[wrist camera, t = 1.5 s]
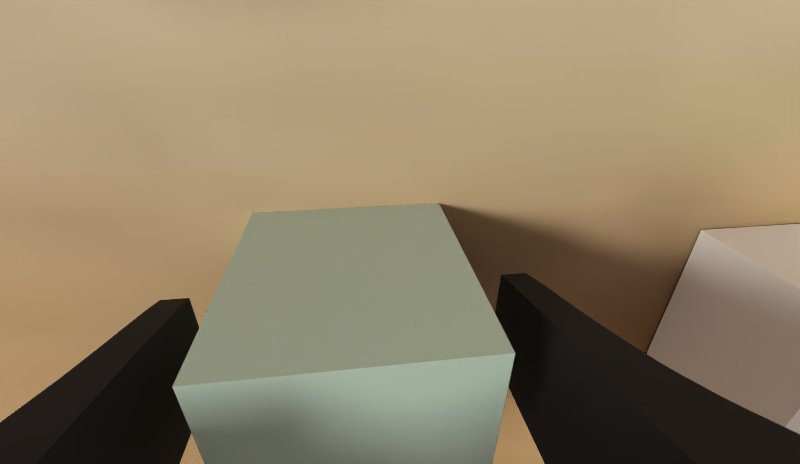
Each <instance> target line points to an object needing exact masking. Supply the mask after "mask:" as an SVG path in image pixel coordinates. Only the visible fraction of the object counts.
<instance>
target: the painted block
mask: <svg viewBox="0 0 800 464" xmlns="http://www.w3.org/2000/svg"><path fill="white" fill-rule="evenodd" d="M647 355H649V356H650V357H652V358H654V359H655V360H657V361H658V362H660V363H662V364H664V365H665V366H667V367H669V368H671V369H672V370H674V371H676V372H678V373H679V374H681V375H683V376H685V377H687V378H689V379H690V380H692V381H694V382H696V383H698V384H700V385H701V386H703V387H705V388H707V389H709V390H711V391H712V392H714V393H716V394H718V395H720V396H722V397H724V398H726V399H728V400H730V401H732V402H734V403H736V404H738V405H740V406H742V407H744V408H746V409H748V410H750V411H752V412H754V413H756V414H758V415H760V416H763V417H765V418H767V419H769V420H771V421H773V422H775V423H777V424H779V425H781V426H783V427H786V428H788V429H790V430H792V431H794V432H796V433H798V434H800V224H786V225H770V226H755V227H739V228H724V229H708V230H701V232H700V234H699V236H698V238H697V241H696V243H695V245H694V247H693V250H692V252H691V254H690V256H689V259H688V261H687V263H686V265H685V268H684V270H683V272H682V275H681V277H680V279H679V281H678V284H677V286H676V288H675V290H674V293H673V295H672V297H671V299H670V302H669V304H668V306H667V308H666V311H665V313H664V315H663V317H662V320H661V322H660V324H659V326H658V329H657V331H656V333H655V335H654V338H653V340H652V342H651V345H650V347H649V349H648V351H647Z"/></svg>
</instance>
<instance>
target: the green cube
mask: <svg viewBox="0 0 800 464" xmlns="http://www.w3.org/2000/svg"><path fill="white" fill-rule="evenodd" d="M514 357H515V351H514V350H513V348H512V346H511V344H510V342H509V340H508V338H507V336H506V334H505V332H504V330H503V328H502V326H501V324H500V322H499V320H498V318H497V316H496V314H495V312H494V310H493V308H492V306H491V304H490V302H489V301H488V299H487V297H486V295H485V293H484V291H483V289H482V287H481V285H480V283H479V281H478V279H477V277H476V275H475V273H474V271H473V269H472V267H471V265H470V263H469V261H468V259H467V257H466V255H465V253H464V252H463V250H462V248H461V246H460V244H459V242H458V240H457V238H456V236H455V234H454V232H453V230H452V228H451V226H450V224H449V222H448V220H447V218H446V216H445V214H444V212H443V210H442V208H441V206H440V204H439V203H434V204H415V205H396V206H376V207H357V208H337V209H318V210H299V211H279V212H260V213H252V215H251V217H250V219H249V221H248V224H247V226H246V228H245V230H244V232H243V234H242V237H241V239H240V241H239V243H238V245H237V247H236V250H235V252H234V254H233V256H232V258H231V260H230V263H229V265H228V267H227V269H226V271H225V273H224V276H223V278H222V280H221V282H220V284H219V286H218V289H217V291H216V293H215V295H214V297H213V299H212V302H211V304H210V306H209V308H208V310H207V312H206V315H205V317H204V319H203V321H202V323H201V325H200V328H199V330H198V332H197V334H196V336H195V339H194V341H193V343H192V345H191V347H190V349H189V352H188V354H187V356H186V358H185V360H184V362H183V365H182V367H181V369H180V371H179V373H178V375H177V378H176V380H175V382H174V384H173V386H172V388H173V390H174V392H175V395H176V397H177V399H178V402H179V404H180V407H181V409H182V411H183V414H184V416H185V418H186V421H187V423H188V425H189V428H190V430H191V433H192V435H193V437H194V440H195V442H196V444H197V447H198V449H199V452H200V454H201V456H202V459H203V461H204V463H205V464H492V462H493V457H494V452H495V448H496V443H497V438H498V433H499V429H500V424H501V419H502V414H503V409H504V405H505V400H506V395H507V390H508V386H509V381H510V376H511V371H512V367H513V362H514Z"/></svg>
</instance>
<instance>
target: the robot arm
mask: <svg viewBox="0 0 800 464" xmlns="http://www.w3.org/2000/svg"><path fill="white" fill-rule="evenodd" d="M495 314H496V316H497V318H498V320H499V322H500V324H501V326H502V328H503V330H504V332H505V334H506V336H507V338H508V340H509V342H510V344H511V346H512V348H513V350H514V351H515V357H514V362H513V367H512V371H511V376H510V381H509V389H510V391H511V393H512V395H513V397H514V399H515V402H516V404H517V406H518V408H519V410H520V412H521V414H522V416H523V418H524V421H525V423H526V425H527V427H528V429H529V431H530V433H531V435H532V437H533V440H534V442H535V444H536V446H537V448H538V450H539V452H540V454H541V456H542V459H543V461H544V463H545V464H800V434H798V433H796V432H794V431H792V430H790V429H788V428H786V427H783V426H781V425H779V424H777V423H775V422H773V421H771V420H769V419H767V418H765V417H763V416H760V415H758V414H756V413H754V412H752V411H750V410H748V409H746V408H744V407H742V406H740V405H738V404H736V403H734V402H732V401H730V400H728V399H726V398H724V397H722V396H720V395H718V394H716V393H714V392H712V391H711V390H709V389H707V388H705V387H703V386H701V385H700V384H698V383H696V382H694V381H692V380H690V379H689V378H687V377H685V376H683V375H681V374H679V373H678V372H676V371H674V370H672V369H671V368H669V367H667V366H665V365H664V364H662V363H660V362H658V361H657V360H655V359H654V358H652V357H650V356H649V355H647V354H645V353H644V352H642V351H641V350H639V349H637V348H636V347H634V346H632V345H631V344H629V343H628V342H626V341H624V340H623V339H621V338H620V337H618V336H617V335H615V334H614V333H612V332H611V331H609V330H608V329H606V328H605V327H603V326H602V325H600V324H599V323H597V322H596V321H594V320H593V319H591V318H590V317H588V316H587V315H585V314H584V313H583V312H581V311H580V310H578V309H577V308H575V307H574V306H572V305H571V304H570V303H568V302H567V301H565V300H564V299H563V298H561V297H560V296H558V295H557V294H555V293H554V292H553V291H551V290H550V289H548V288H547V287H546V286H544V285H543V284H541V283H540V282H538V281H537V280H535V279H534V278H532V277H531V276H529V275H528V274H526V273H521V274H507V275H501V280H500V286H499V292H498V298H497V305H496V311H495ZM198 330H199V326H198V323H197V320H196V317H195V314H194V311H193V308H192V305H191V302H190V299H189V298H184V299H171V300H160V301H158V302H157V303H156V304H154V305H153V306H151V307H150V308H149V309H147V310H146V311H145V312H143V313H142V314H141V315H140V316H138V317H137V318H136V319H135V320H133V321H132V322H131V323H129V324H128V325H127V326H126V327H124V328H123V329H122V330H121V331H119V332H118V333H117V334H116V335H114V336H113V337H112V338H111V339H109V340H108V341H107V342H106V343H104V344H103V345H102V346H101V347H99V348H98V349H97V350H96V351H94V352H93V353H92V354H91V355H89V356H88V357H87V358H85V359H84V360H83V361H82V362H80V363H79V364H78V365H77V366H75V367H74V368H73V369H72V370H70V371H69V372H68V373H66V374H65V375H64V376H63V377H61V378H60V379H58V380H57V381H56V382H54V383H53V384H52V385H50V386H49V387H48V388H46V389H45V390H44V391H42V392H41V393H40V394H38V395H37V396H36V397H34V398H33V399H31V400H30V401H29V402H27V403H26V404H25V405H23V406H22V407H21V408H19V409H18V410H17V411H15V412H14V413H13V414H11V415H10V416H9V417H7V418H6V419H4V420H3V421H2V422H0V464H179V463H180V461H181V458H182V456H183V453H184V450H185V448H186V445H187V443H188V440H189V437H190V435H191V430H190V428H189V425H188V423H187V421H186V418H185V416H184V414H183V411H182V409H181V407H180V404H179V402H178V399H177V397H176V395H175V392H174V390H173V388H172V386H173V384H174V382H175V380H176V378H177V375H178V373H179V371H180V369H181V367H182V365H183V362H184V360H185V358H186V356H187V354H188V352H189V349H190V347H191V345H192V343H193V341H194V339H195V336H196V334H197V332H198Z"/></svg>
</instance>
